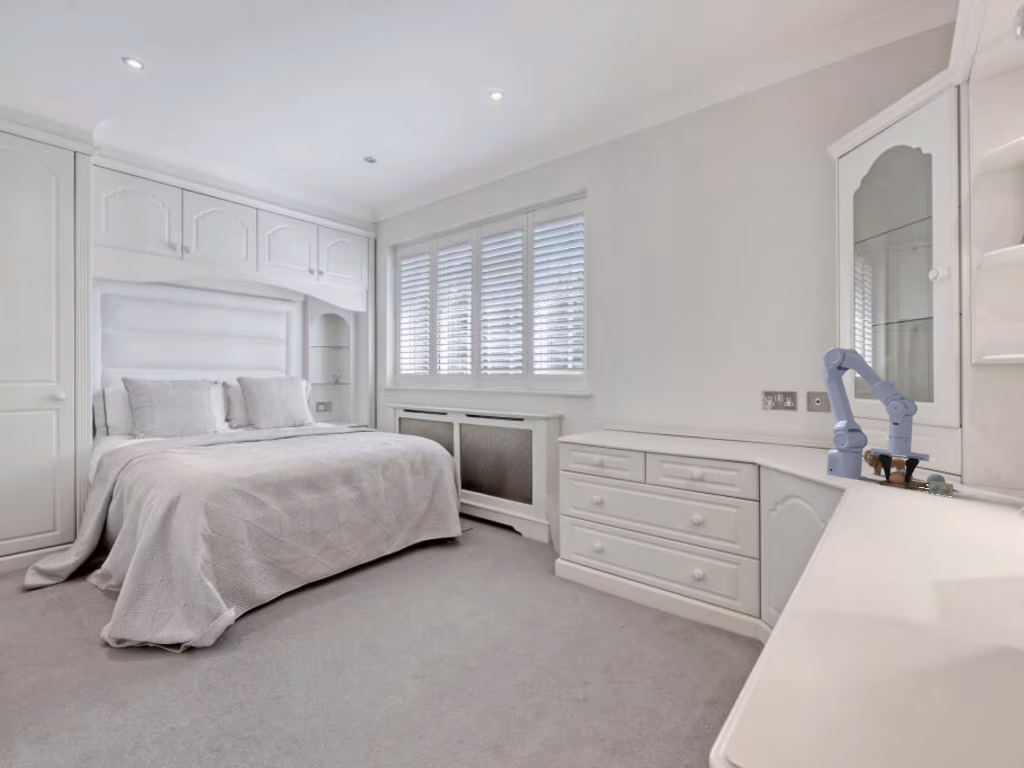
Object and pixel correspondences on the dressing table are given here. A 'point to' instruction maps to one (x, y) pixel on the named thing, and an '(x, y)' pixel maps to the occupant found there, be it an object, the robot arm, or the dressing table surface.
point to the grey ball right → (935, 478)
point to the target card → (940, 488)
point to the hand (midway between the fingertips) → (897, 480)
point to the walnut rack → (908, 485)
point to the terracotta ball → (897, 478)
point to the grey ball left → (905, 473)
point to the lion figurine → (874, 462)
